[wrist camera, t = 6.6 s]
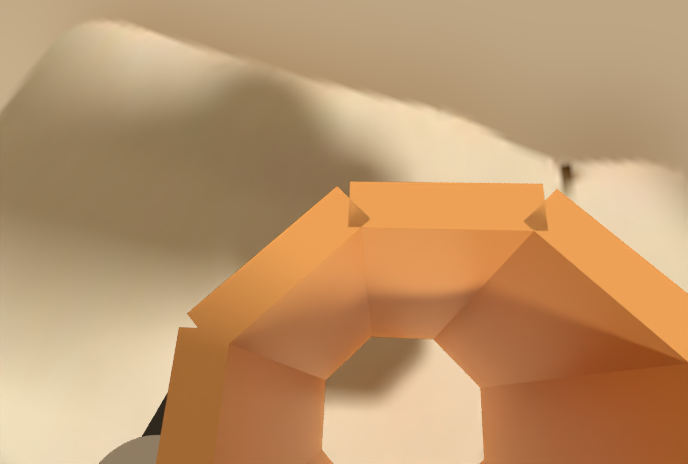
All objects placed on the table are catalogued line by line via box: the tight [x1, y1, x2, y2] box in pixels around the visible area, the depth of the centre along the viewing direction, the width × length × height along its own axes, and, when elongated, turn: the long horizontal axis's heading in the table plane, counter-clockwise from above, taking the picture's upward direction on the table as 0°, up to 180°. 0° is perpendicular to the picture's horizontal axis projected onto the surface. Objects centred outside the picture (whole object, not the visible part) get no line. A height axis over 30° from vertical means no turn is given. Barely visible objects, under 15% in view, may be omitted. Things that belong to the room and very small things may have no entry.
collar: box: [156, 182, 688, 464], centre depth 9 cm, size 6×6×10 cm
